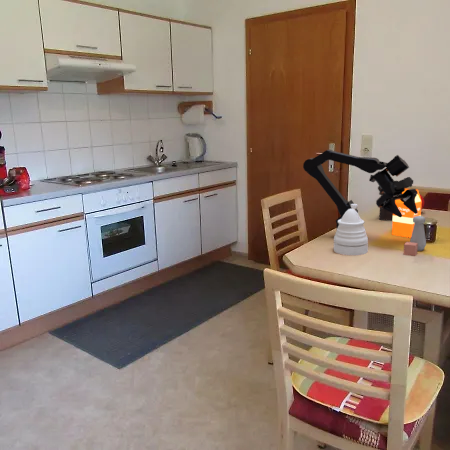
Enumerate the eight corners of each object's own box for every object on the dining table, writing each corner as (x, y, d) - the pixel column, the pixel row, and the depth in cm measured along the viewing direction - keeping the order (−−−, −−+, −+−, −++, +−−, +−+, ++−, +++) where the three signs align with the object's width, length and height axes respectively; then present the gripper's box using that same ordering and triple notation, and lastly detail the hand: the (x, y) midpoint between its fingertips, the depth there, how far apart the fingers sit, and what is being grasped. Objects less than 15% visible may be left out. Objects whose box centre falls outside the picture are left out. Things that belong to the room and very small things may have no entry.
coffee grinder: (380, 215, 232) (382, 180, 228) (403, 216, 227) (405, 181, 223) (375, 222, 219) (376, 185, 215) (399, 223, 214) (401, 186, 209)
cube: (403, 254, 168) (404, 244, 167) (405, 251, 171) (406, 241, 170) (414, 256, 166) (415, 245, 165) (417, 253, 169) (417, 242, 168)
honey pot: (344, 244, 185) (345, 201, 180) (373, 249, 176) (375, 204, 171) (327, 251, 176) (327, 206, 172) (356, 257, 167) (358, 210, 163)
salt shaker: (427, 251, 170) (429, 218, 167) (411, 251, 171) (412, 218, 168) (423, 247, 175) (425, 214, 172) (408, 247, 176) (409, 214, 173)
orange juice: (411, 238, 189) (413, 191, 184) (391, 234, 195) (393, 189, 191) (420, 234, 194) (422, 188, 189) (400, 231, 200) (402, 186, 196)
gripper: (383, 173, 170) (406, 205, 163) (415, 168, 179) (438, 199, 172) (366, 191, 178) (388, 223, 171) (397, 186, 187) (419, 216, 181)
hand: (409, 215), depth 174 cm, fingers open, 9 cm apart
